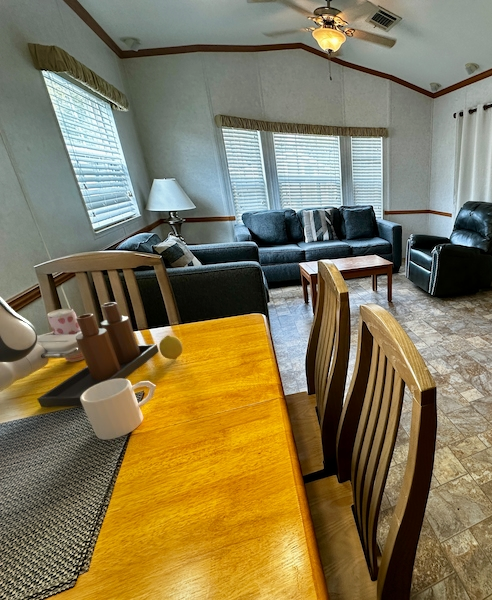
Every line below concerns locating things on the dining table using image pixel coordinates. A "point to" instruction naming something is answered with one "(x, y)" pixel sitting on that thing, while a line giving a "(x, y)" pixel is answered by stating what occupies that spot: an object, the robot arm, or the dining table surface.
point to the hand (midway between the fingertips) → (71, 332)
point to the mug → (114, 407)
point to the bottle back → (120, 333)
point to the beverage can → (65, 326)
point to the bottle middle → (96, 349)
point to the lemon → (171, 347)
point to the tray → (90, 381)
